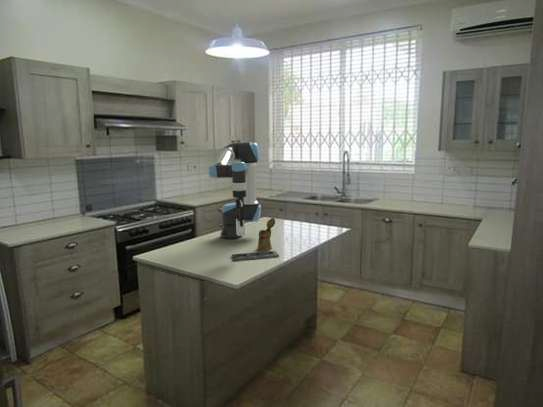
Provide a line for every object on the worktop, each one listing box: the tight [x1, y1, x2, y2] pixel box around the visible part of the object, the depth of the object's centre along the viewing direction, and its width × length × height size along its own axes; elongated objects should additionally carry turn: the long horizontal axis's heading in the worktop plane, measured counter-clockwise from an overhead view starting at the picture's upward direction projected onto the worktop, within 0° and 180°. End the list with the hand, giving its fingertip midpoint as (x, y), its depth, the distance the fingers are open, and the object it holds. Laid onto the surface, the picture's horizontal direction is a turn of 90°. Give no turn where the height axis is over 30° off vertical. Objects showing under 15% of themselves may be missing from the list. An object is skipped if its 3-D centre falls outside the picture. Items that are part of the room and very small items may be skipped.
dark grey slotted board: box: [231, 250, 280, 262], centre depth 224 cm, size 9×26×1 cm, turn 104°
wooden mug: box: [256, 217, 276, 251], centre depth 241 cm, size 9×14×18 cm, turn 139°
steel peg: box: [236, 219, 246, 236], centre depth 219 cm, size 4×4×9 cm
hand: (240, 230), depth 220 cm, fingers closed on steel peg, 4 cm apart
